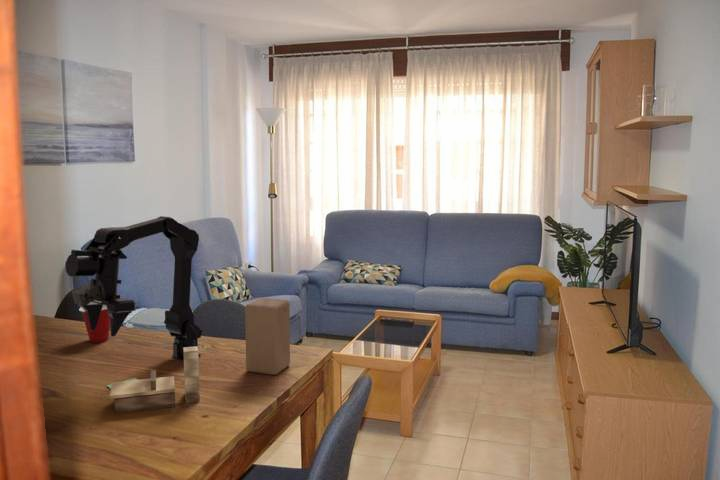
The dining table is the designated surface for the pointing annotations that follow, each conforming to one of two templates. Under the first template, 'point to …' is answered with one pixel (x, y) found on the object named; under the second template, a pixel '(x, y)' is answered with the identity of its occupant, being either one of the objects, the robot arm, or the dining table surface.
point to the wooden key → (191, 370)
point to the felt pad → (126, 380)
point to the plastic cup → (98, 326)
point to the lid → (142, 386)
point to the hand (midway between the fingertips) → (102, 333)
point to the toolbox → (150, 402)
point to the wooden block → (267, 335)
